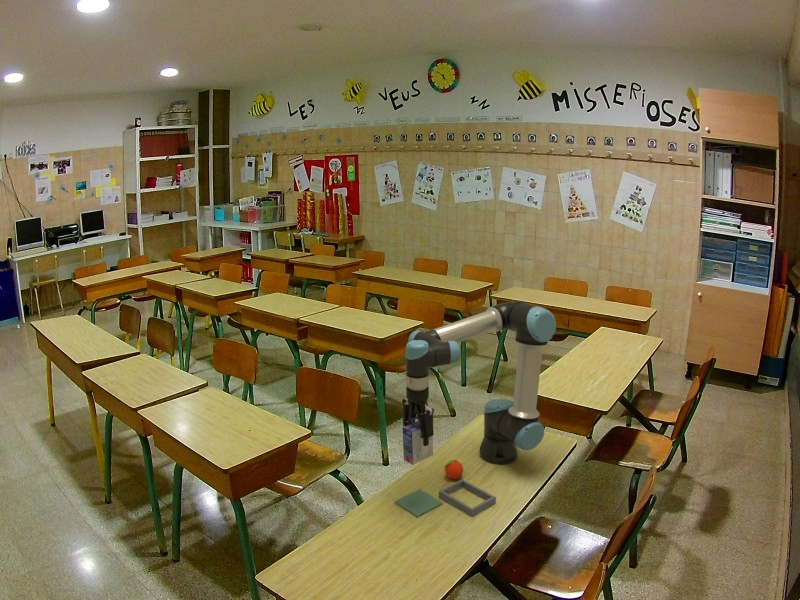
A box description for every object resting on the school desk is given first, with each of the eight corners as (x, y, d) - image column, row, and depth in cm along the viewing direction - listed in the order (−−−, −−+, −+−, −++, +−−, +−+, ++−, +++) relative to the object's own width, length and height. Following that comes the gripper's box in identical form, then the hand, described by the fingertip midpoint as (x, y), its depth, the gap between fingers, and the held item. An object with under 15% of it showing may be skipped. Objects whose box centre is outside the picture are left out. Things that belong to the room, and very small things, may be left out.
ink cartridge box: (422, 449, 215) (422, 411, 212) (434, 455, 211) (434, 416, 208) (402, 459, 209) (401, 420, 205) (413, 465, 205) (413, 425, 201)
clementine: (447, 484, 226) (447, 467, 224) (439, 475, 232) (439, 458, 231) (466, 480, 229) (466, 463, 227) (458, 471, 235) (458, 454, 233)
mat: (419, 490, 223) (419, 488, 222) (442, 504, 214) (442, 502, 214) (394, 502, 215) (394, 501, 215) (417, 517, 206) (417, 516, 206)
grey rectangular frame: (462, 485, 226) (462, 479, 225) (495, 503, 214) (495, 497, 213) (438, 497, 218) (438, 491, 217) (472, 516, 206) (472, 510, 206)
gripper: (391, 381, 208) (392, 444, 214) (428, 397, 195) (428, 463, 200) (407, 376, 213) (408, 437, 219) (445, 391, 199) (444, 456, 205)
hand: (418, 450), depth 209 cm, fingers closed on ink cartridge box, 5 cm apart
